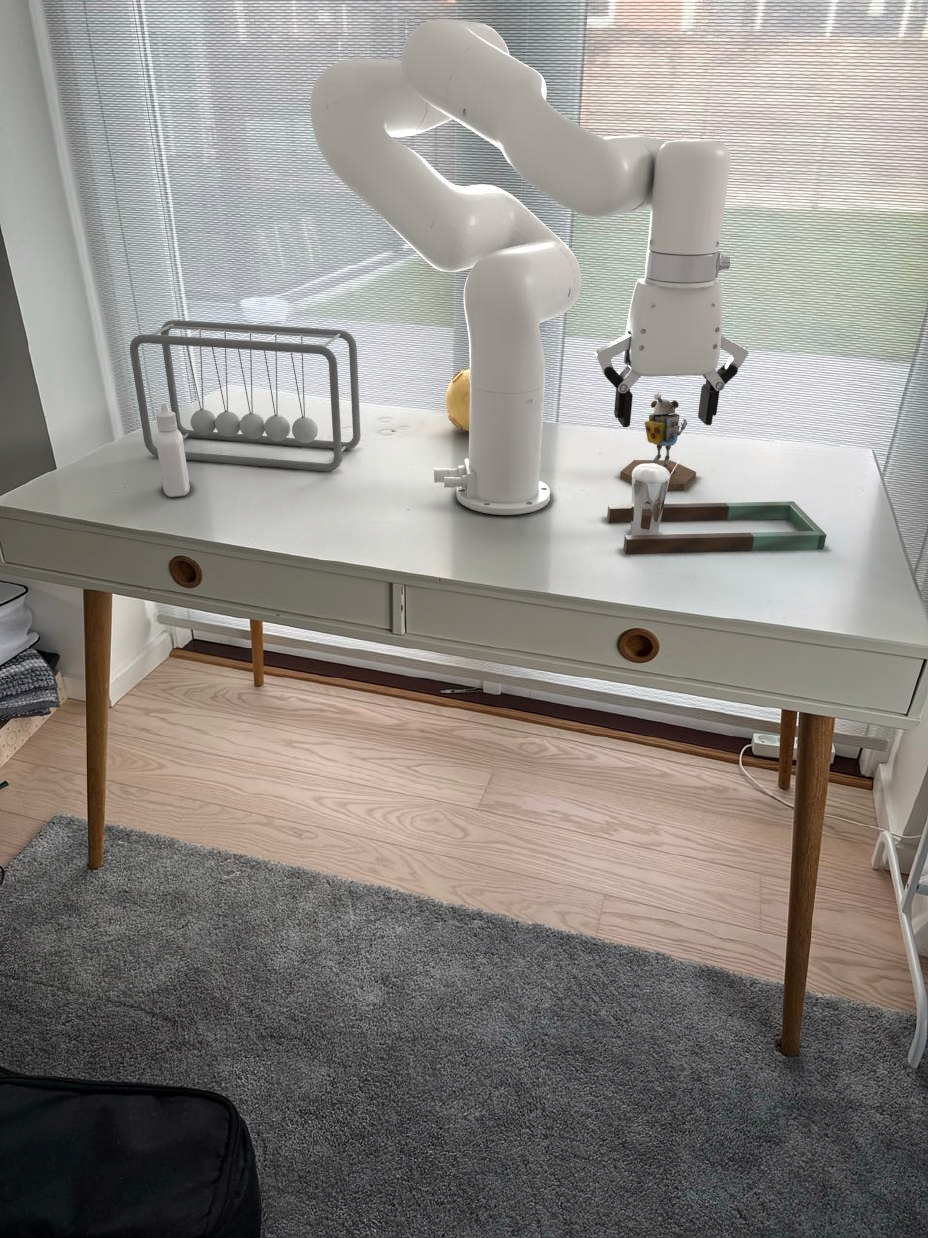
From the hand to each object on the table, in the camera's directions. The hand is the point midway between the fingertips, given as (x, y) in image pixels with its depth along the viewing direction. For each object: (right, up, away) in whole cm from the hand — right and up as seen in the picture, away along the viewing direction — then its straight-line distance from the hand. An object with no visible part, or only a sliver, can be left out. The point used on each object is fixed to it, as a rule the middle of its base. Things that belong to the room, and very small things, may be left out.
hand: (664, 422), depth 111 cm
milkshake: (-1, -13, +7) cm, 15 cm away
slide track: (+8, -12, +8) cm, 17 cm away
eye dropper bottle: (-62, -6, +18) cm, 65 cm away
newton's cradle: (-54, +2, +31) cm, 63 cm away
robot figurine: (+4, -3, +24) cm, 25 cm away
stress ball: (-21, +7, +41) cm, 47 cm away
